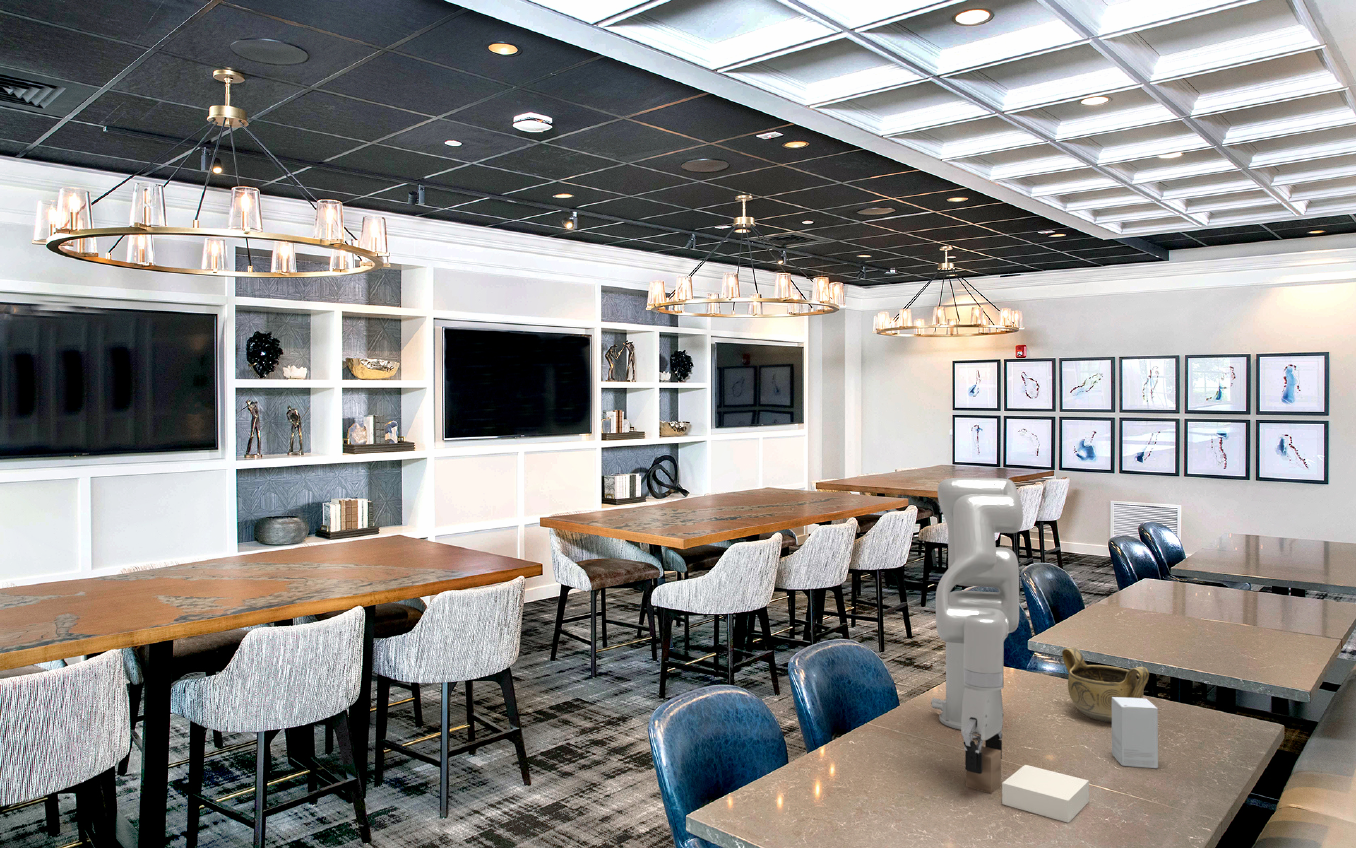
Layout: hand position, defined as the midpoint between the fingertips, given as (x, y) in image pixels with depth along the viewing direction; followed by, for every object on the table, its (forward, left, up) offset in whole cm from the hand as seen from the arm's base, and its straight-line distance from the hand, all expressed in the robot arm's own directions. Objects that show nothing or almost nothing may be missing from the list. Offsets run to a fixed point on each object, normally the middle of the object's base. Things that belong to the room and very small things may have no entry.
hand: (983, 765), depth 175 cm
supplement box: (+19, +34, -5) cm, 39 cm away
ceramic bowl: (+6, +60, -5) cm, 61 cm away
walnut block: (0, 0, -4) cm, 4 cm away
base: (+12, 0, -4) cm, 13 cm away
